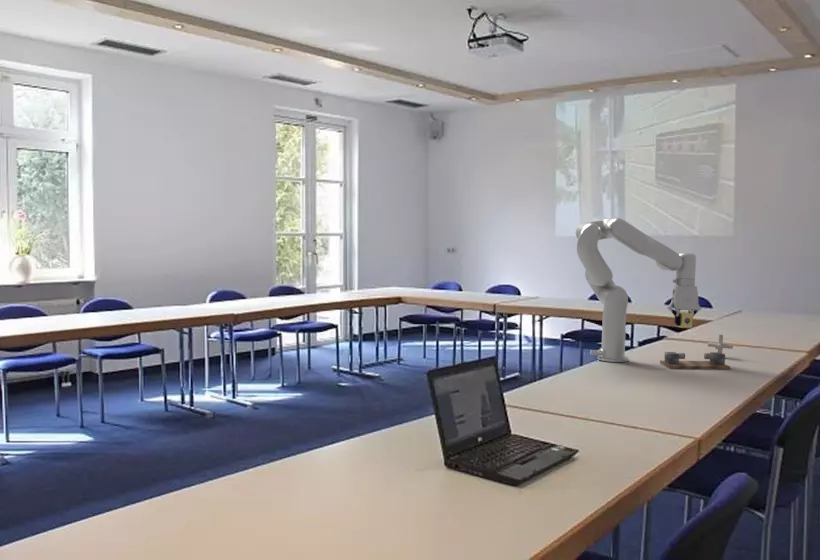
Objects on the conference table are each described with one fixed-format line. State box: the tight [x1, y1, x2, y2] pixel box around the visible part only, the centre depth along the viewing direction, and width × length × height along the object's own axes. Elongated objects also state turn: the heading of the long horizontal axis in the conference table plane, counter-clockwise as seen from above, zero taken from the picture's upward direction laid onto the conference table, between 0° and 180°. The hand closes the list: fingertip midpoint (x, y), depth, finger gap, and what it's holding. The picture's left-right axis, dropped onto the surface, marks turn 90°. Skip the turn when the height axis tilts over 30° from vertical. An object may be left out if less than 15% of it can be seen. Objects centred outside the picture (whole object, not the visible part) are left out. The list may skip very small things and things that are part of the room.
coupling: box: [674, 311, 694, 329], centre depth 313 cm, size 7×4×6 cm, turn 3°
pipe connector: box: [707, 333, 734, 353], centre depth 324 cm, size 10×10×10 cm
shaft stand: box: [659, 351, 731, 370], centre depth 301 cm, size 24×12×5 cm, turn 91°
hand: (683, 325), depth 313 cm, fingers closed on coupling, 4 cm apart
